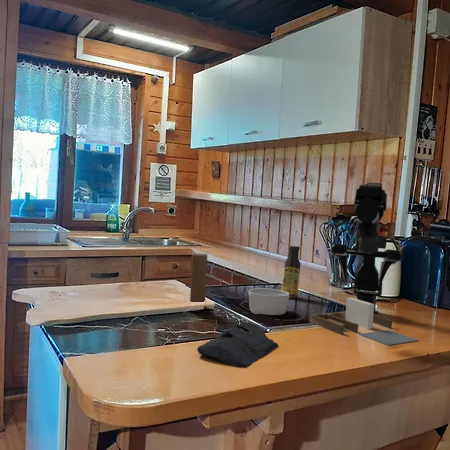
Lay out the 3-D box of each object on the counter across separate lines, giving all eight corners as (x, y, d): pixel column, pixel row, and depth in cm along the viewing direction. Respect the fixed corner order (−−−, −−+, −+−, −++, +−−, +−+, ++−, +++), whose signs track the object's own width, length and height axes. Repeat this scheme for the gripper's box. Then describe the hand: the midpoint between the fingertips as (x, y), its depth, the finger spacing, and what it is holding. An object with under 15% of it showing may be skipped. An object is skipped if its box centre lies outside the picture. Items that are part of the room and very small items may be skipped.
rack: (358, 319, 149) (359, 310, 149) (391, 330, 138) (392, 320, 138) (309, 324, 139) (310, 314, 139) (340, 337, 128) (341, 326, 127)
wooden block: (191, 305, 155) (194, 251, 154) (204, 306, 155) (208, 252, 154) (189, 311, 146) (192, 254, 145) (203, 312, 146) (206, 255, 145)
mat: (388, 333, 134) (389, 329, 134) (418, 343, 126) (418, 340, 126) (358, 337, 128) (359, 333, 128) (387, 348, 120) (388, 344, 120)
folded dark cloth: (185, 357, 105) (186, 336, 105) (228, 334, 125) (229, 317, 125) (246, 372, 99) (248, 350, 98) (282, 346, 118) (283, 327, 118)
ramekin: (258, 306, 160) (259, 286, 159) (294, 312, 153) (295, 292, 153) (239, 313, 148) (241, 291, 148) (277, 320, 142) (279, 298, 141)
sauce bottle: (280, 297, 175) (283, 245, 174) (281, 294, 181) (285, 244, 180) (297, 299, 174) (301, 247, 173) (298, 296, 180) (302, 245, 179)
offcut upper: (329, 324, 138) (329, 319, 137) (344, 329, 132) (344, 324, 132) (321, 325, 136) (322, 320, 136) (336, 330, 131) (337, 325, 131)
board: (349, 323, 144) (351, 297, 143) (372, 331, 136) (374, 304, 135) (344, 323, 143) (346, 298, 142) (367, 331, 135) (369, 304, 134)
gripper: (335, 220, 125) (330, 278, 123) (408, 228, 122) (403, 287, 120) (332, 226, 136) (327, 279, 134) (399, 233, 133) (394, 288, 131)
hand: (362, 283), depth 129 cm, fingers open, 9 cm apart
